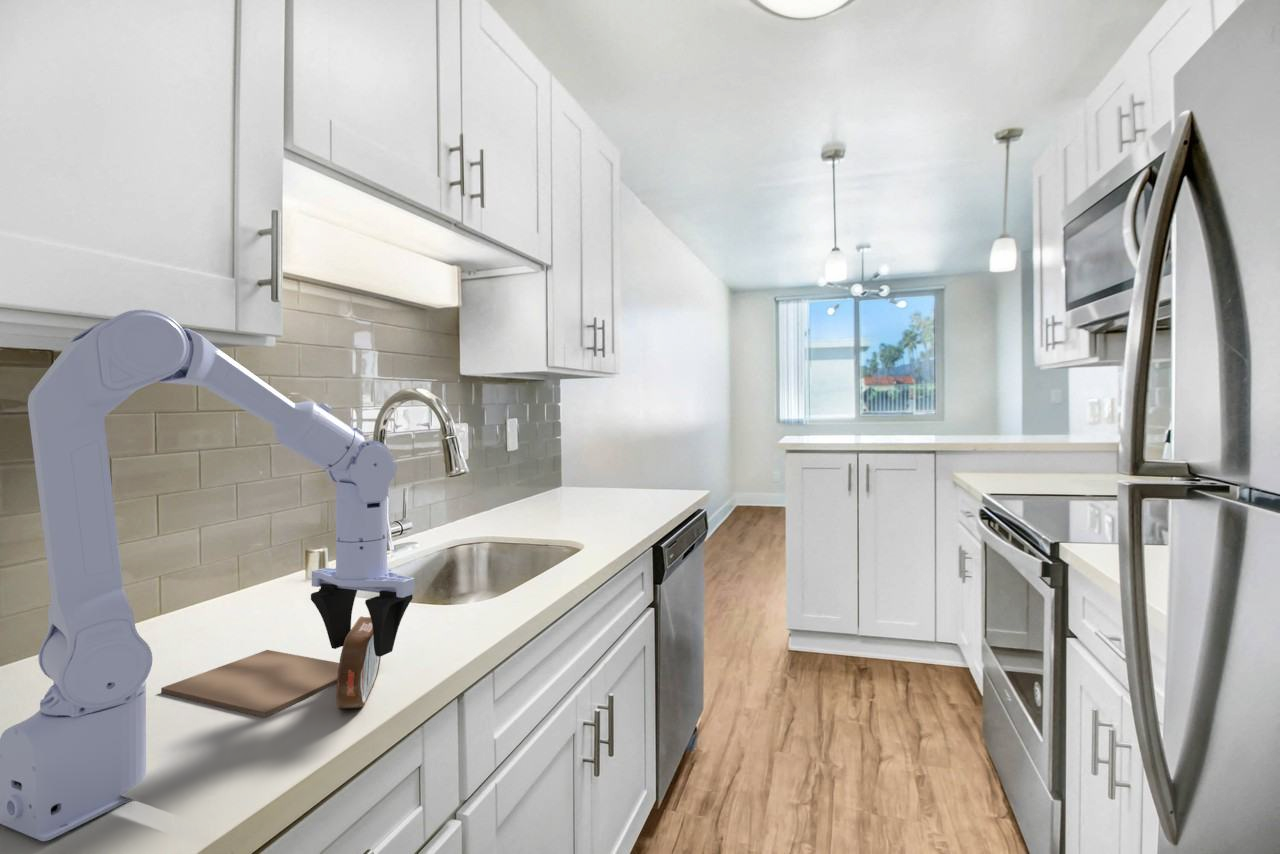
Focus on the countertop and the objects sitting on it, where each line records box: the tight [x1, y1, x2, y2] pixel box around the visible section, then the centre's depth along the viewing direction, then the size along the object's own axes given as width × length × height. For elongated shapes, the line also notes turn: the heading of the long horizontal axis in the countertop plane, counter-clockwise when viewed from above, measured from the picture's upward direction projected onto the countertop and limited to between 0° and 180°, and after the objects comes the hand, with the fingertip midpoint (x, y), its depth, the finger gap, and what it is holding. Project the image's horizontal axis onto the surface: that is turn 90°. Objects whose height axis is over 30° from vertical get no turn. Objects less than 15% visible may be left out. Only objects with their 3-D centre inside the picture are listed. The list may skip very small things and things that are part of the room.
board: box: [160, 649, 339, 718], centre depth 79 cm, size 14×18×1 cm
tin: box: [335, 616, 382, 711], centre depth 76 cm, size 15×3×8 cm, turn 14°
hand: (361, 649), depth 76 cm, fingers open, 6 cm apart
